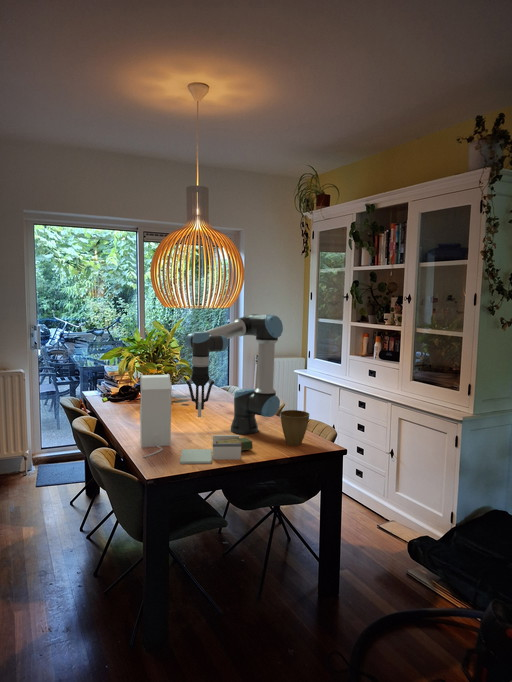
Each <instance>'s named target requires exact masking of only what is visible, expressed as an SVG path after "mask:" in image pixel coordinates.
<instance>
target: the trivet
mask: <svg viewBox="0 0 512 682" xmlns="http://www.w3.org/2000/svg"><path fill="white" fill-rule="evenodd" d="M180 454H181V455H180V458H179V464H180V465H181V464H182V465H190V464H192V465H193V464H201V465H203V464H204V465H205V464H208V465H209V464H211V465H212V460H213V448H201V449H200V448H191V449H190V448H185V449H184V448H182V449H181V453H180Z"/></svg>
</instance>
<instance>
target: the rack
mask: <svg viewBox="0 0 512 682" xmlns="http://www.w3.org/2000/svg"><path fill="white" fill-rule="evenodd" d="M237 438H240V434H237V435H236V434H229V435H228V434H223V435H222V434H215V435H214V434H213V435H212V460H216V461H217V460H242V451H241V443H216V441H223V440H230V439H237Z"/></svg>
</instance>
